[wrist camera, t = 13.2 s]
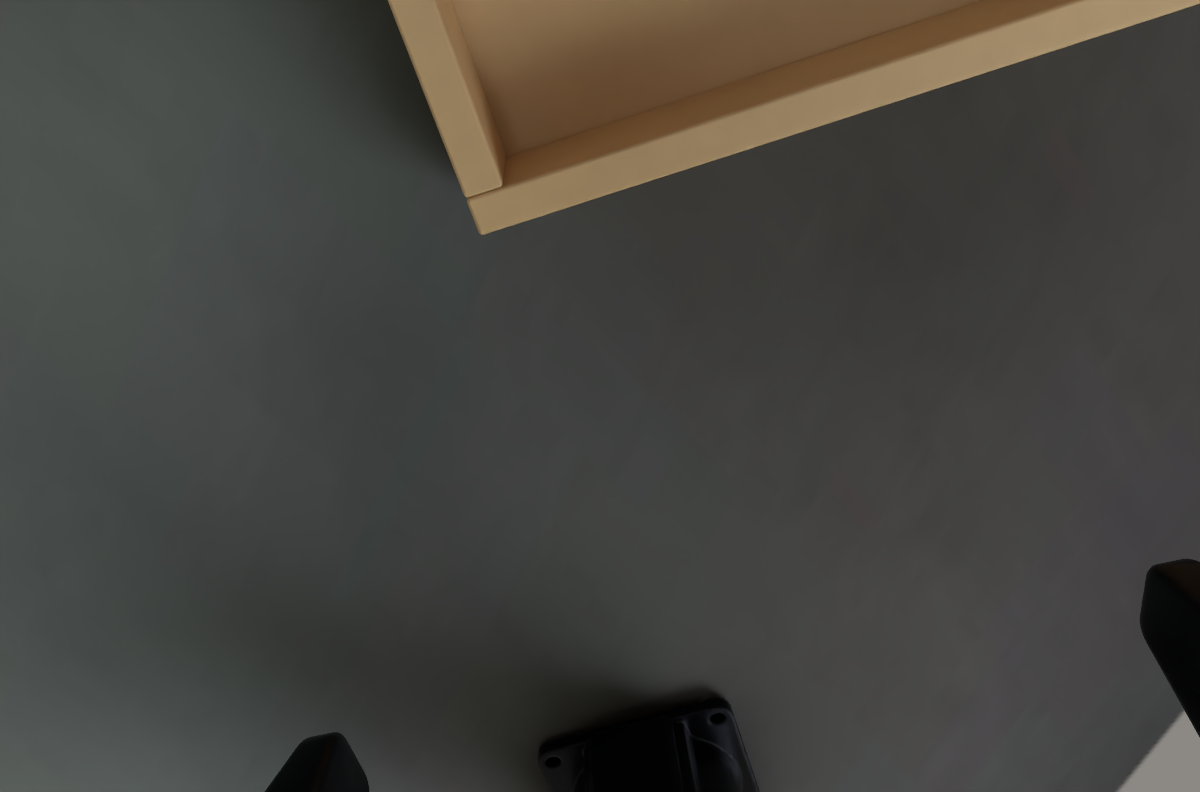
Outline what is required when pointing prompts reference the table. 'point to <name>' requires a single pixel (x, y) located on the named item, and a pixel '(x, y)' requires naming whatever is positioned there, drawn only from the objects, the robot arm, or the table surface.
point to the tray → (692, 78)
